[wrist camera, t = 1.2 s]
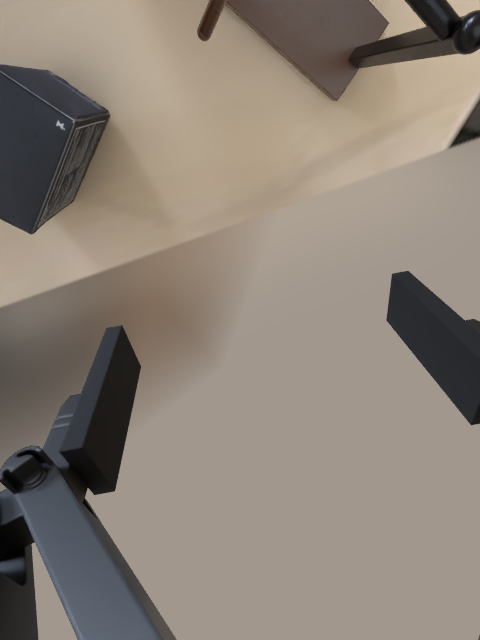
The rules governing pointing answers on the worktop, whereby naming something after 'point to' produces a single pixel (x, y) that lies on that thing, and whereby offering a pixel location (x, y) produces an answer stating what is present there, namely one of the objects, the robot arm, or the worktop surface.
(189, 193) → the worktop surface
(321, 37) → the clothes rail
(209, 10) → the hanger
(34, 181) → the small box
